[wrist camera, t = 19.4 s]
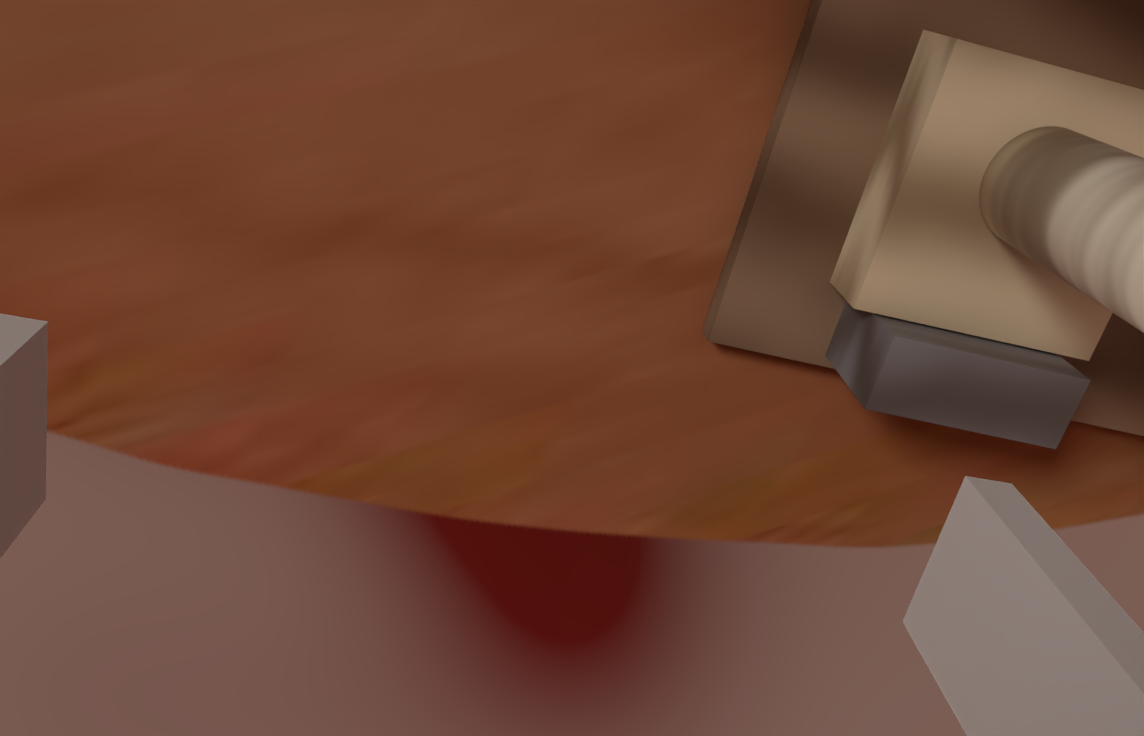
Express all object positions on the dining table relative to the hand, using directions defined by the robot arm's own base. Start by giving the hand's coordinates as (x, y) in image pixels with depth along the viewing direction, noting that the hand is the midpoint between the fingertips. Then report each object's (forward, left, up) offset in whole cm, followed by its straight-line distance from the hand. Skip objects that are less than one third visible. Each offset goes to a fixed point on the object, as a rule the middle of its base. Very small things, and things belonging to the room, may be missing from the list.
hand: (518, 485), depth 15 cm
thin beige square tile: (-2, +19, -25) cm, 32 cm away
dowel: (-3, +19, -22) cm, 30 cm away
